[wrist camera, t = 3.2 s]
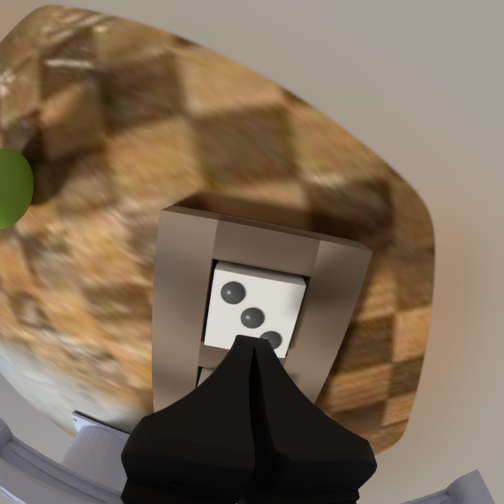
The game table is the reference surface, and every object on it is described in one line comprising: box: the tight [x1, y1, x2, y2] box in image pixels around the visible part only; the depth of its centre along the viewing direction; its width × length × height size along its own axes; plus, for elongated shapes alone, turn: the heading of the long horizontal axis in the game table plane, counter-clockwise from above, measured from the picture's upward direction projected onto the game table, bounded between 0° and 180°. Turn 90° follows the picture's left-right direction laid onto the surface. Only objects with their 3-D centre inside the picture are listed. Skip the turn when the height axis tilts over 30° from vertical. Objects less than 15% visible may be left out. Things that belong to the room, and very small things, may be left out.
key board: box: [152, 205, 373, 413], centre depth 18 cm, size 23×11×2 cm, turn 169°
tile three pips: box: [204, 260, 306, 358], centre depth 15 cm, size 4×4×3 cm
